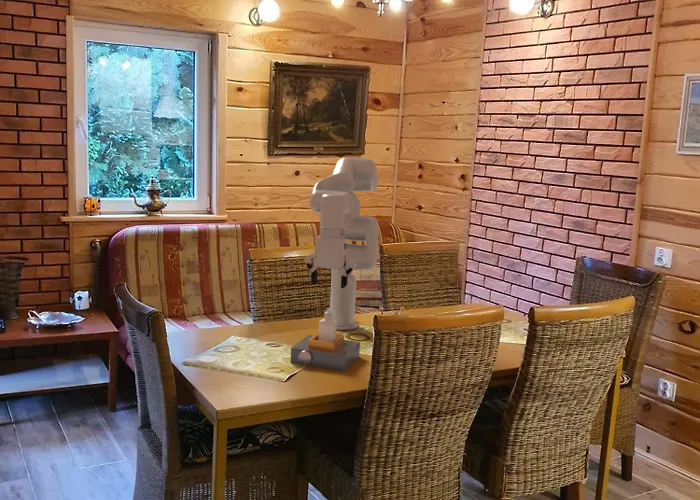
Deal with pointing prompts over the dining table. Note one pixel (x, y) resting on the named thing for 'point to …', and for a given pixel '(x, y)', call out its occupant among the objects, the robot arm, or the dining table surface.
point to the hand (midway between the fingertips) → (328, 285)
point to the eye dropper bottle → (327, 328)
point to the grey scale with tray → (325, 352)
